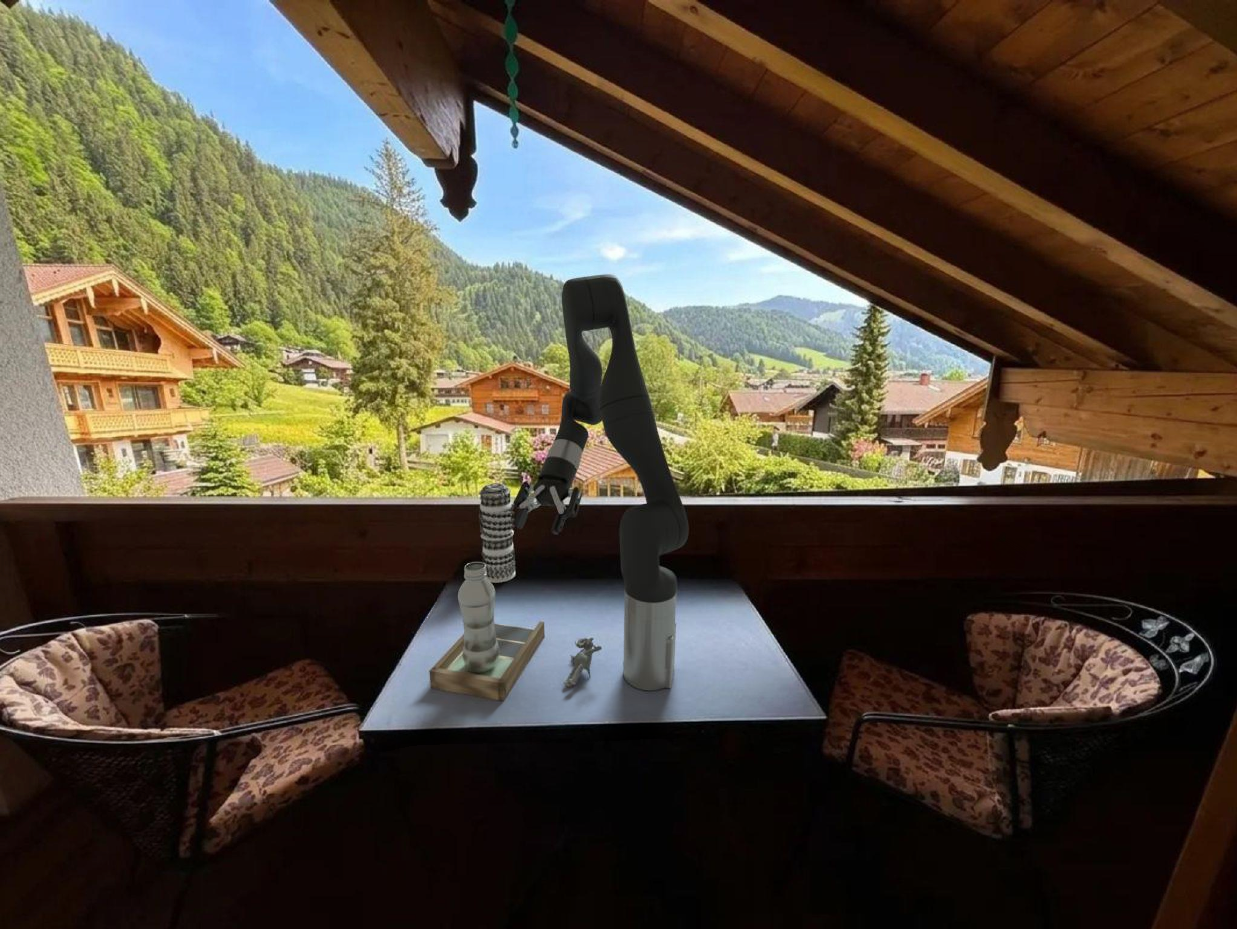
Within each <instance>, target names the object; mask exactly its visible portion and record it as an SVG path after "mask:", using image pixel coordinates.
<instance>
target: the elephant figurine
mask: <svg viewBox="0 0 1237 929" xmlns="http://www.w3.org/2000/svg"><path fill="white" fill-rule="evenodd" d="M593 640H594V637H590V638H587V637H584V638H578V639H577V641H576V640H574V644H575V646H576V647H577V648H579V649H581V650H580V651H579V652H577V654H576V655H571V654H570V659H571V660H573V662H574V666H573V668H572V670H571V672H570V673H569V675H568V677H567V679H566V681H564V682H563V684H564V685H565V686H566V687H568V688H571V687H572V685H574V686H576V685H577V683H578V681H579V678H580V675H581V673H582V672H583V670H584V671H585V670H586V672H587V673H588V675H589V677H588V678H591V671H590V670H591V669H590V668H591V663H592V659H593V654H594V653H595V652H599V651H602V649H603V648H602V646H601V645H598V646H596V645H594V642H593Z"/></svg>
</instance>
